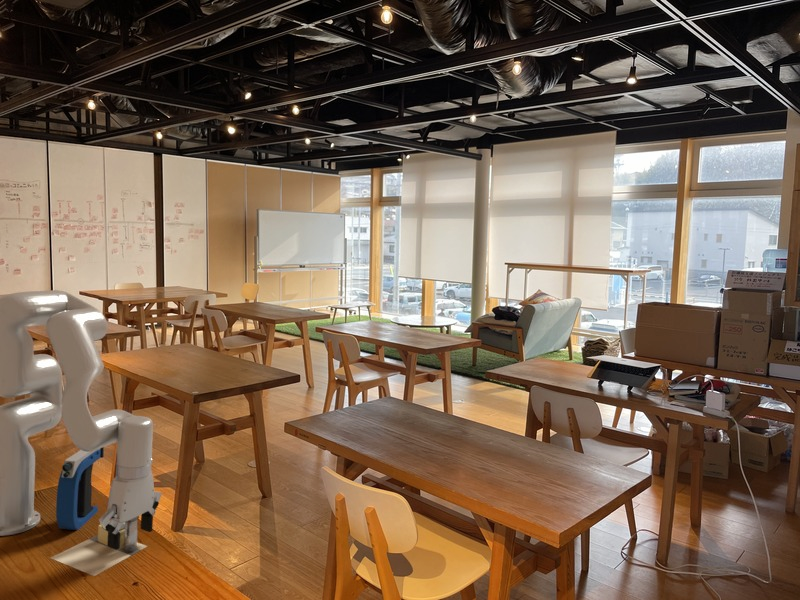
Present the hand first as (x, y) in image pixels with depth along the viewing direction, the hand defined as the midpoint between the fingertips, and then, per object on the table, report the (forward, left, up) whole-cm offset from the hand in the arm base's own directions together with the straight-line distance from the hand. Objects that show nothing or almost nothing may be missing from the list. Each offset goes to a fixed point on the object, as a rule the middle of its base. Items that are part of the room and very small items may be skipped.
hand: (130, 538), depth 141 cm
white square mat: (-5, -4, -4) cm, 7 cm away
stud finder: (-6, +1, -3) cm, 7 cm away
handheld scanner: (-22, +4, -4) cm, 23 cm away
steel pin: (0, 0, -3) cm, 3 cm away
